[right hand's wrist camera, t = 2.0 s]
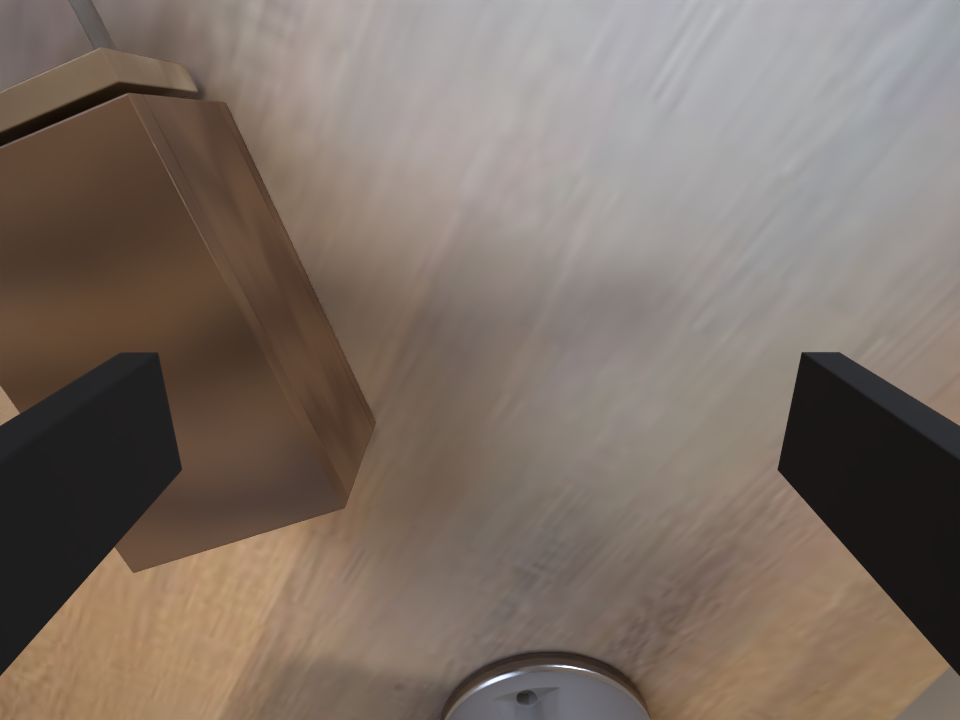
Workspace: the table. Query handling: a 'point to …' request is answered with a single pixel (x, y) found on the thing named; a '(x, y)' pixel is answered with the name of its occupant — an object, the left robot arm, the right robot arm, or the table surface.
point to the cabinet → (178, 314)
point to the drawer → (86, 82)
